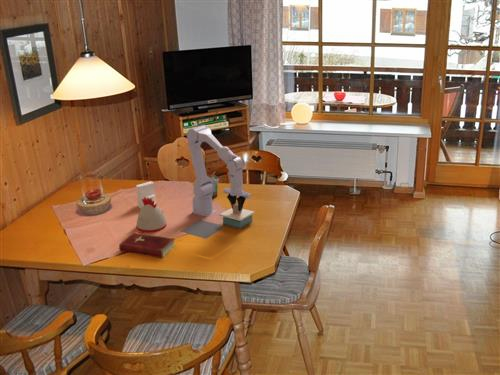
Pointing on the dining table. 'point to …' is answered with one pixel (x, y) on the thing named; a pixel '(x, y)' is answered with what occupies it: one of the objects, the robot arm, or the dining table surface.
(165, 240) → the hardcover book
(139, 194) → the base with upright slab
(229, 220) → the teal square tray
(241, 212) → the lid
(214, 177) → the food container
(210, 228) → the mat
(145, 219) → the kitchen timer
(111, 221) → the dining table surface
